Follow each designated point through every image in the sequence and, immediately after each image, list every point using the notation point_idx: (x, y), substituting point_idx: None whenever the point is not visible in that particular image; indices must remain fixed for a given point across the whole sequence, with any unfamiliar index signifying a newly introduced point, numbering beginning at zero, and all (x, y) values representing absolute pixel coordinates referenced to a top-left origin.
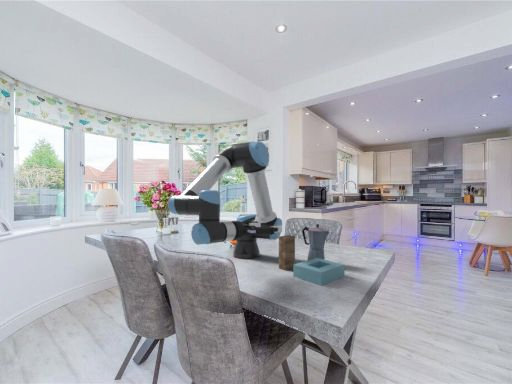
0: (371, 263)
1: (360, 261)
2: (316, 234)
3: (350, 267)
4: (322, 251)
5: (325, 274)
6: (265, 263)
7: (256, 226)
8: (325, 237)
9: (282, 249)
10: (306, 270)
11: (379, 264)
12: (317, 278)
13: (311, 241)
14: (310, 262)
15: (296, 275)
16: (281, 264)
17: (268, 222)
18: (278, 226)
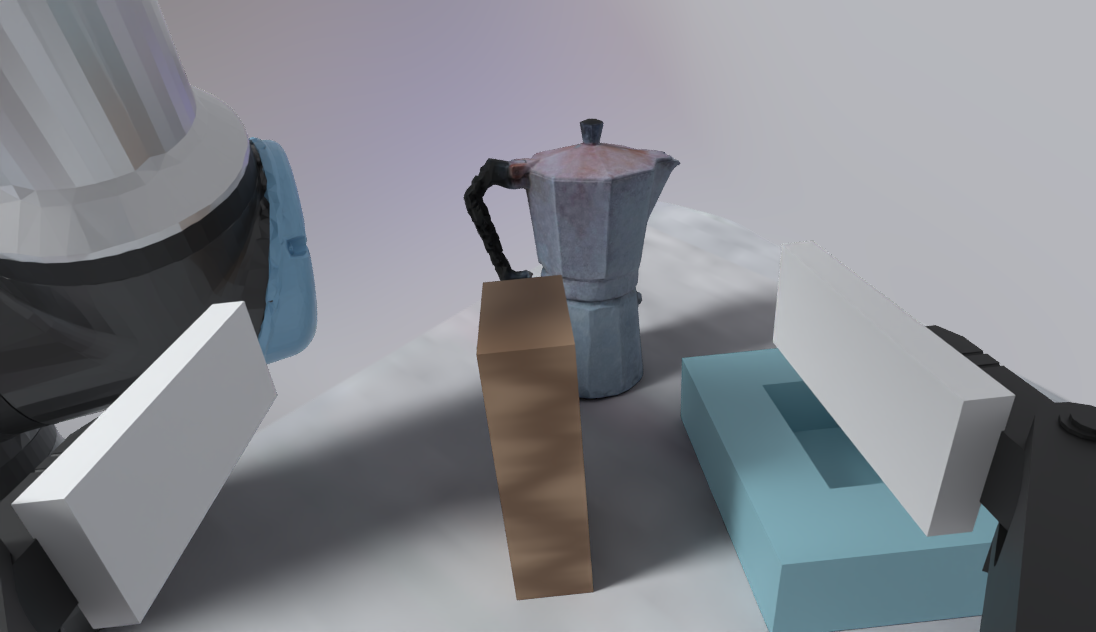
0: (730, 252)
1: (684, 259)
2: (629, 198)
3: (744, 315)
4: (640, 294)
5: None
6: (326, 607)
7: (218, 418)
8: (653, 200)
9: (548, 456)
10: (935, 561)
11: (756, 245)
12: None
13: (587, 258)
14: (770, 435)
15: (809, 623)
16: (547, 567)
17: (206, 222)
18: (858, 287)
